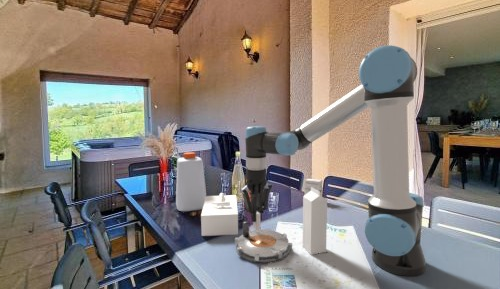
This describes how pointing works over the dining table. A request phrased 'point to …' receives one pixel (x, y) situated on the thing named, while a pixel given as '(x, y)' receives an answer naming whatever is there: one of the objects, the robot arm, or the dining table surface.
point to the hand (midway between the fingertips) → (256, 229)
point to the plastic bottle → (190, 183)
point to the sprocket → (262, 243)
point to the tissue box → (219, 215)
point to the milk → (314, 222)
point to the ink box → (313, 185)
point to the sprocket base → (262, 259)
